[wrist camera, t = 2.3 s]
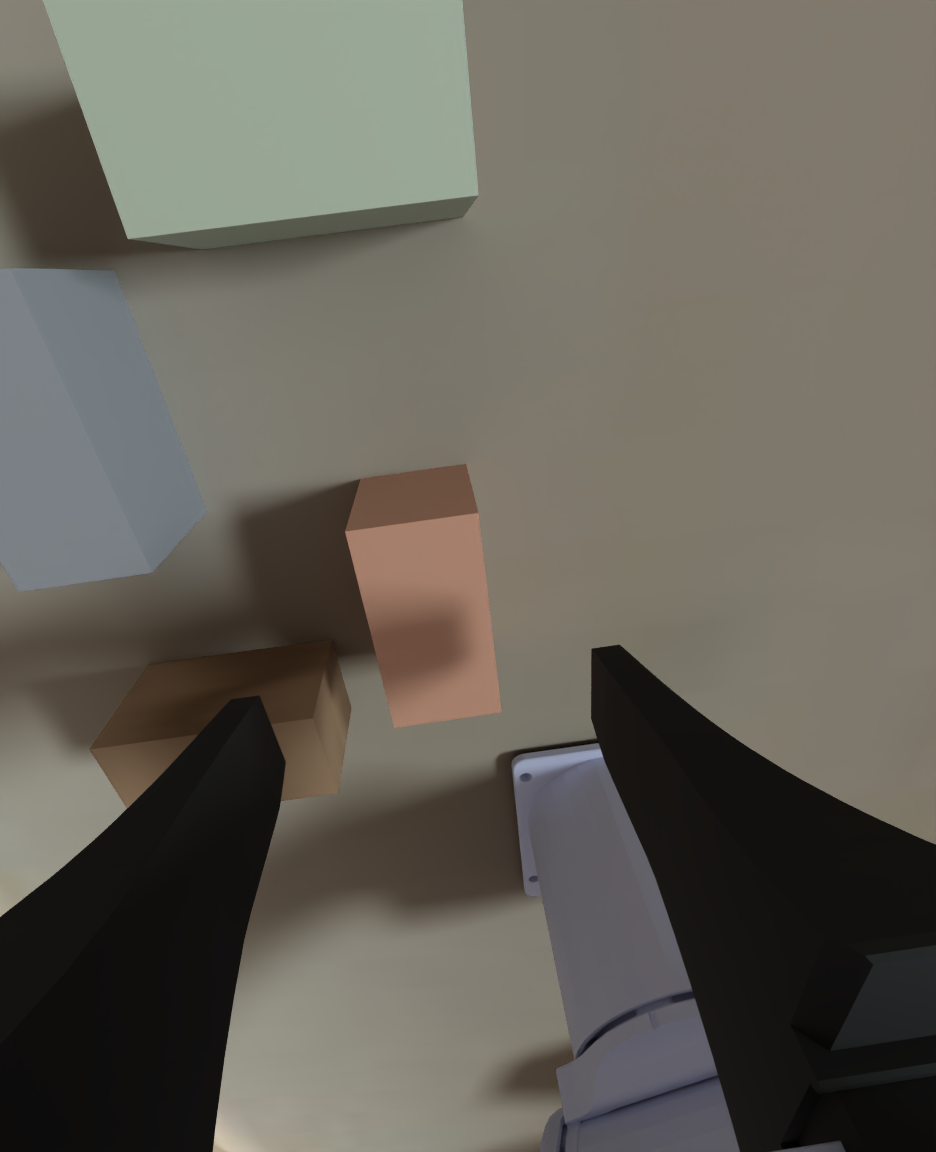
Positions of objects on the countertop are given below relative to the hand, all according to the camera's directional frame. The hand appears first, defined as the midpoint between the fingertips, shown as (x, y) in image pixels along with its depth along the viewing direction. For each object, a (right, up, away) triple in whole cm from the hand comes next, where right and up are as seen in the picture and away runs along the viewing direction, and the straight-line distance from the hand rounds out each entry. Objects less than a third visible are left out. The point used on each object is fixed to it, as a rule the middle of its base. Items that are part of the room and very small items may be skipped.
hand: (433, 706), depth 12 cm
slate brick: (-9, +7, +3) cm, 12 cm away
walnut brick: (-7, -1, +8) cm, 11 cm away
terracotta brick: (-1, +3, +6) cm, 7 cm away
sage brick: (-3, +13, +1) cm, 13 cm away
